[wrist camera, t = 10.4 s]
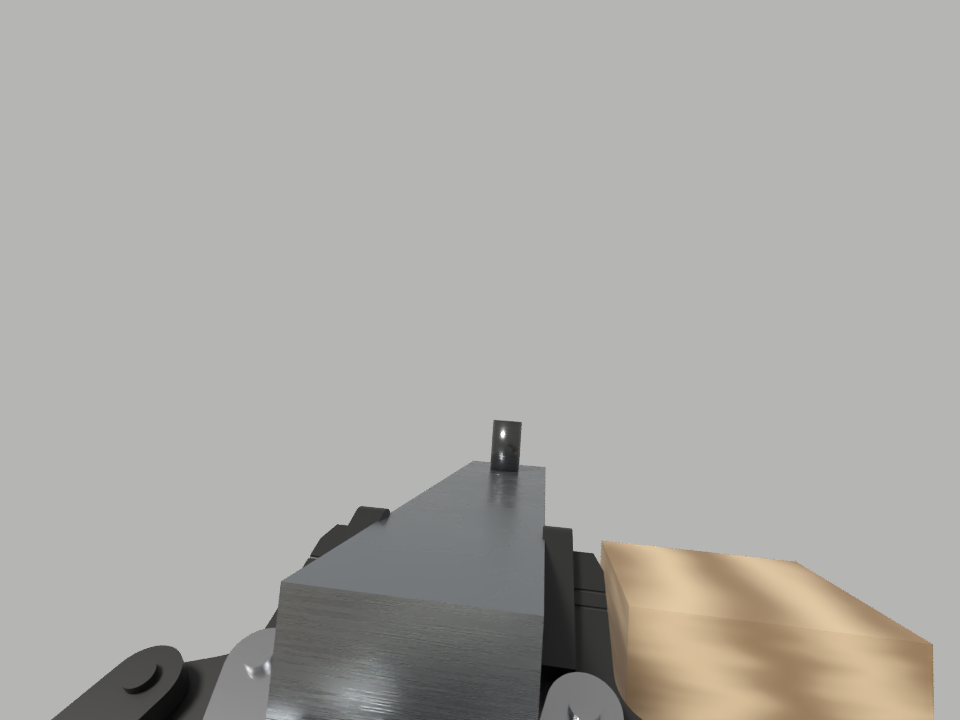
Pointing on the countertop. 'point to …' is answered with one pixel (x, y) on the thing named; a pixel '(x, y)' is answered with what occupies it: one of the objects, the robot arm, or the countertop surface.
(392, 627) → the tin
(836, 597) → the oak block
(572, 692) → the robot arm
